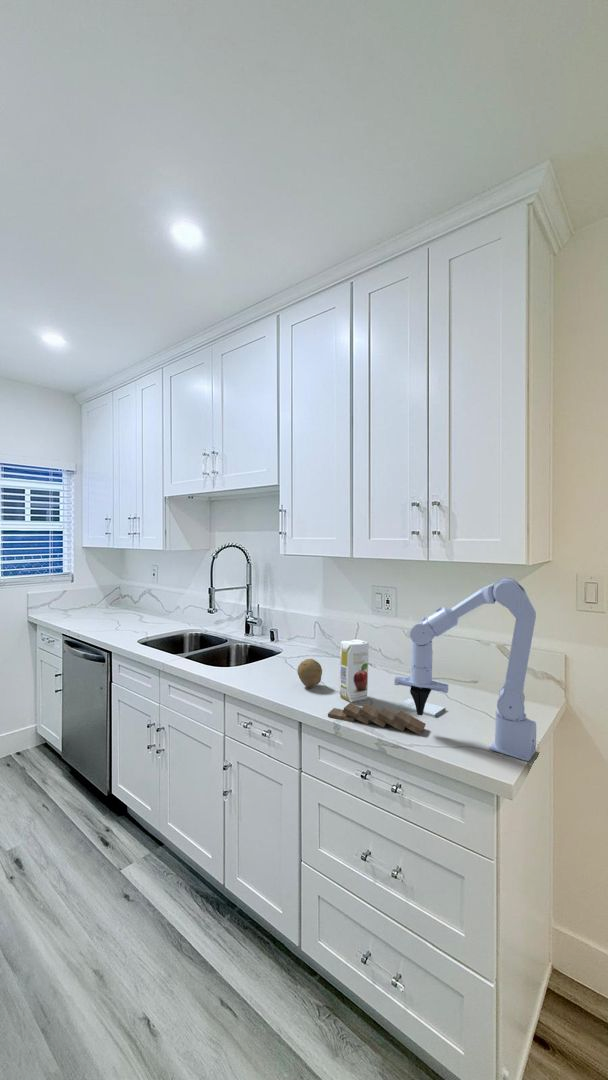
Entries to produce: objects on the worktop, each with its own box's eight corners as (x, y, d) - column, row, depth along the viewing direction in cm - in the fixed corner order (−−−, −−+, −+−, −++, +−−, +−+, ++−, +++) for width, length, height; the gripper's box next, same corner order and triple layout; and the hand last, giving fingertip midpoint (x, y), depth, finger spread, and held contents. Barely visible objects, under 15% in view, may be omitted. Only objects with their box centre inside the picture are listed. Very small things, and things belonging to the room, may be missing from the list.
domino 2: (374, 713, 139) (350, 702, 142) (368, 719, 134) (344, 707, 138) (373, 718, 139) (349, 707, 143) (367, 724, 135) (342, 712, 138)
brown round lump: (301, 681, 173) (302, 654, 173) (324, 684, 170) (325, 657, 170) (294, 689, 164) (294, 660, 164) (318, 692, 162) (319, 663, 161)
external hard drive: (434, 719, 141) (397, 708, 149) (445, 712, 148) (409, 702, 156) (434, 714, 141) (397, 703, 149) (445, 707, 148) (409, 697, 156)
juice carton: (336, 696, 157) (337, 640, 157) (356, 692, 162) (357, 638, 162) (350, 703, 151) (351, 645, 151) (370, 699, 156) (372, 642, 155)
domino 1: (358, 712, 141) (333, 707, 144) (353, 718, 136) (327, 713, 140) (358, 718, 141) (333, 713, 144) (353, 723, 136) (327, 718, 140)
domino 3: (390, 717, 137) (366, 703, 140) (385, 723, 132) (360, 708, 135) (388, 721, 137) (364, 707, 140) (383, 727, 132) (358, 713, 136)
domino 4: (409, 720, 135) (383, 707, 138) (404, 726, 130) (378, 712, 133) (407, 725, 135) (381, 711, 138) (403, 731, 130) (376, 717, 134)
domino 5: (425, 723, 132) (399, 709, 136) (422, 730, 128) (395, 715, 131) (423, 728, 133) (397, 714, 136) (420, 735, 128) (393, 720, 131)
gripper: (450, 665, 131) (448, 713, 131) (399, 658, 137) (397, 704, 137) (446, 672, 125) (445, 722, 125) (393, 664, 131) (391, 712, 131)
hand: (420, 714), depth 131 cm, fingers closed
